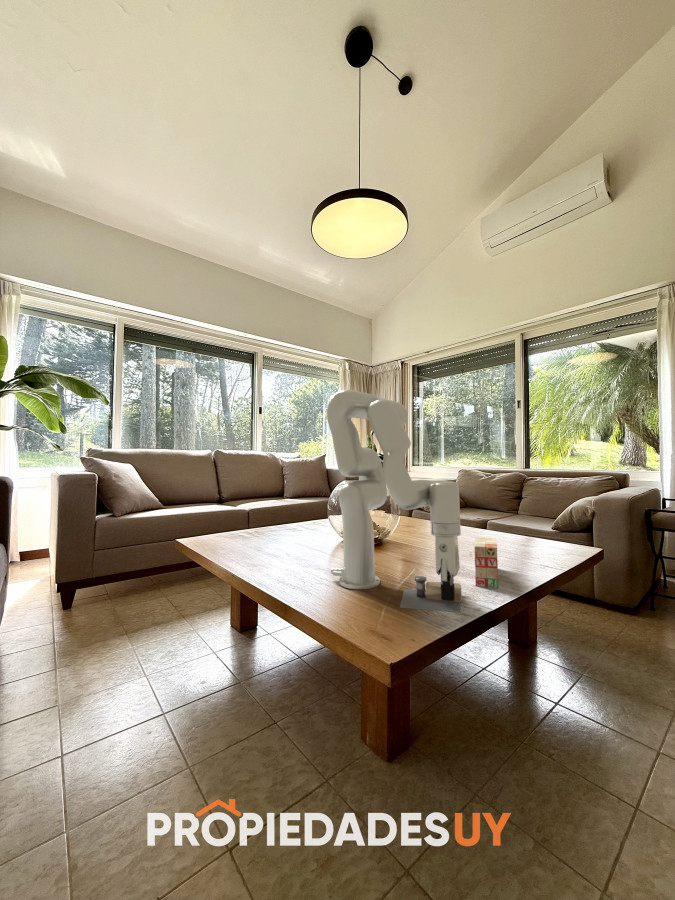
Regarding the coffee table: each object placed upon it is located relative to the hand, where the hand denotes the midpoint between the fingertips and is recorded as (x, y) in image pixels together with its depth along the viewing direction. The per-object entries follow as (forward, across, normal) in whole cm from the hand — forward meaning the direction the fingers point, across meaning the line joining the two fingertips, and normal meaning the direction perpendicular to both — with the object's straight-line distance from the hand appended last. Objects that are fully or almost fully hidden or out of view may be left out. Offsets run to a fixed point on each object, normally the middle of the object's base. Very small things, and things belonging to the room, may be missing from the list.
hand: (448, 599), depth 98 cm
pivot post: (+1, +3, +8) cm, 8 cm away
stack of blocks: (+2, +28, -8) cm, 29 cm away
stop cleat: (+1, +7, +2) cm, 7 cm away
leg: (+1, +3, +2) cm, 4 cm away
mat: (+2, +2, +5) cm, 5 cm away
